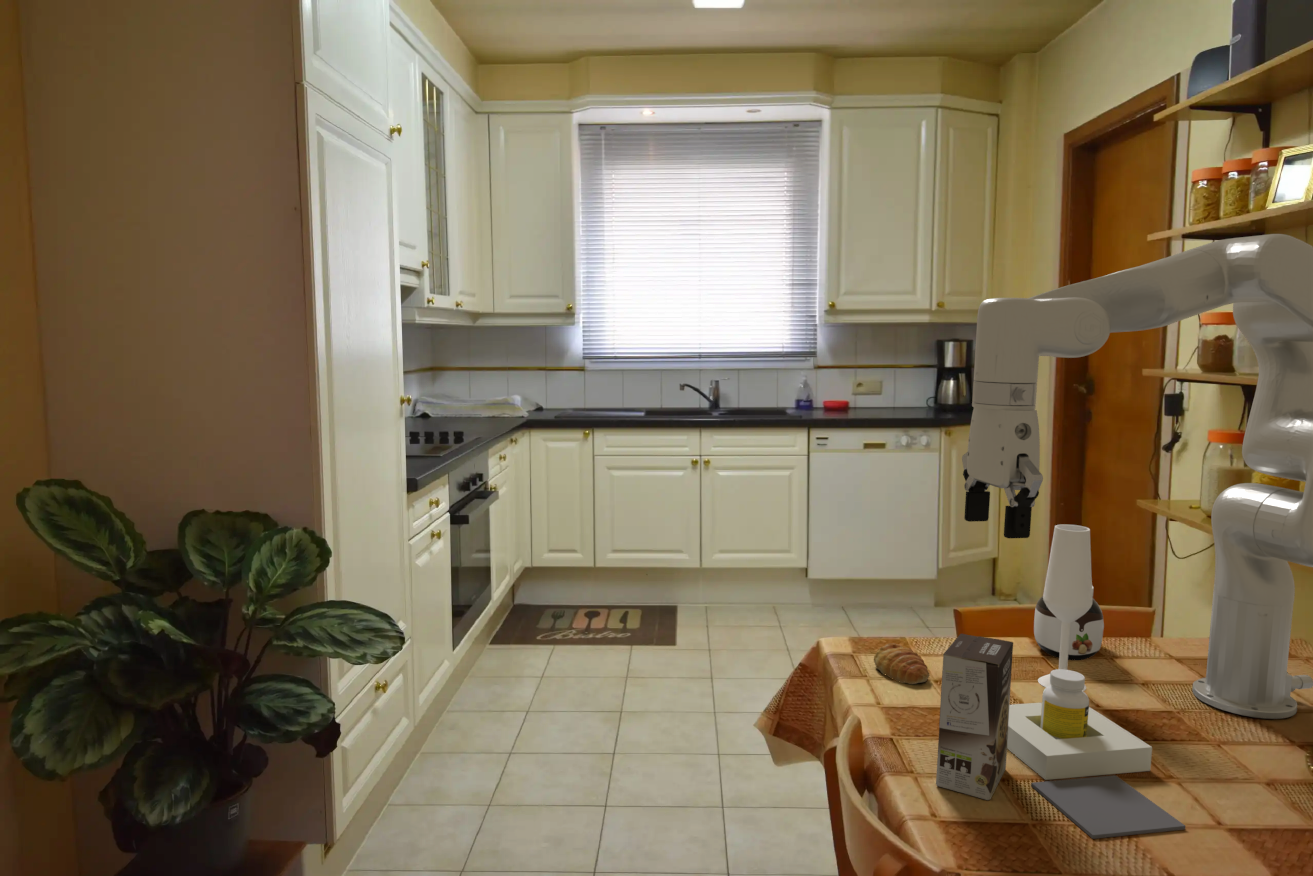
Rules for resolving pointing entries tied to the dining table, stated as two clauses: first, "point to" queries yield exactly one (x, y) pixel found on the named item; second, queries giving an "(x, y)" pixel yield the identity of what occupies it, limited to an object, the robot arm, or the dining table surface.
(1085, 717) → the supplement bottle
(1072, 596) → the champagne flute
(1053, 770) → the socket block
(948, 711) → the coffee box
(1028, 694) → the dining table surface
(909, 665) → the pastry
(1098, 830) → the mat
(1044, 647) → the spread jar
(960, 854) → the dining table surface
